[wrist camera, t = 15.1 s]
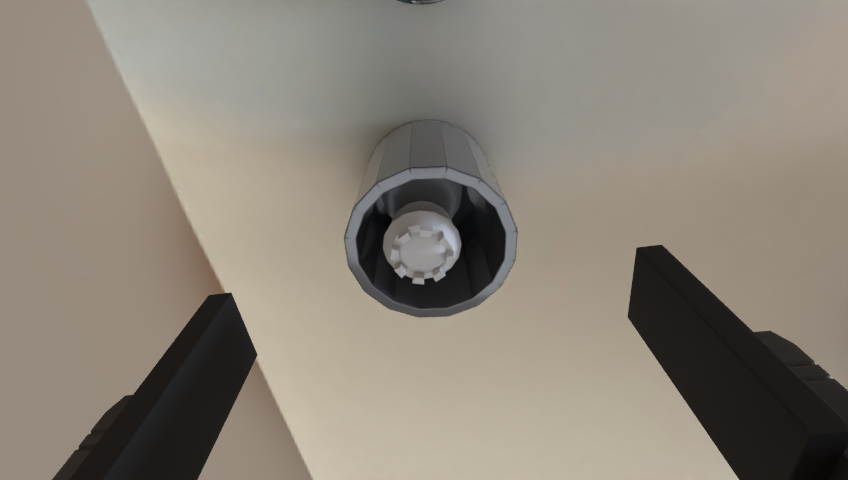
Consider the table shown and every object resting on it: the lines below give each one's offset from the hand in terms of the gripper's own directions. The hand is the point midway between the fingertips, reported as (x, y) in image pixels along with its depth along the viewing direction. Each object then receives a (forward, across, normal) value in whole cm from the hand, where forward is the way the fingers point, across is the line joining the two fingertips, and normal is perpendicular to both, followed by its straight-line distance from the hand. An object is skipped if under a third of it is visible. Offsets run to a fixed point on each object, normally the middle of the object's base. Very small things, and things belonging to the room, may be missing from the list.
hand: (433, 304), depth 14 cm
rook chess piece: (+11, 0, 0) cm, 11 cm away
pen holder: (+12, 0, 0) cm, 12 cm away
